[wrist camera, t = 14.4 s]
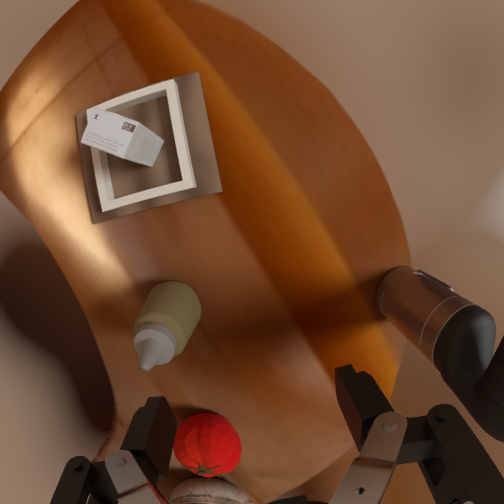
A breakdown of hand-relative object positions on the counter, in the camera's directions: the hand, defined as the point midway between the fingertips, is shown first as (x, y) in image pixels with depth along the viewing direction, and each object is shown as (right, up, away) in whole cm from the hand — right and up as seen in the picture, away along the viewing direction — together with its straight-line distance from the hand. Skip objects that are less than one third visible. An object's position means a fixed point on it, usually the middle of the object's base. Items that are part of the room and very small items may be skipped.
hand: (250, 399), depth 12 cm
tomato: (-8, -26, +37) cm, 45 cm away
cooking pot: (-10, -51, +42) cm, 67 cm away
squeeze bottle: (-11, 0, +31) cm, 33 cm away
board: (-16, +22, +25) cm, 37 cm away
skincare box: (-15, +21, +25) cm, 36 cm away
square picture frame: (-16, +22, +25) cm, 37 cm away
